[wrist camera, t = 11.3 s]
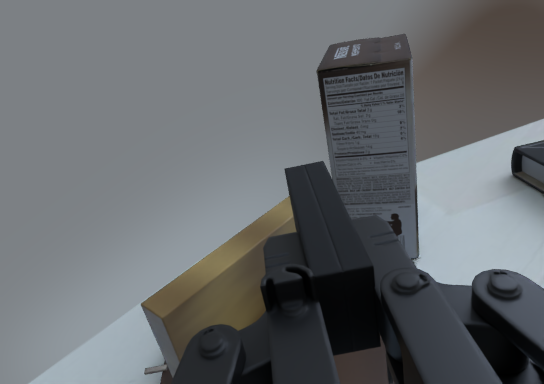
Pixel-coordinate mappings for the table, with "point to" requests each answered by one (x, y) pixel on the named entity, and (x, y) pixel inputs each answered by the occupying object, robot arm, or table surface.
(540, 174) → the book
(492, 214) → the table surface
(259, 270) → the tan flat piece
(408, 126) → the coffee box
